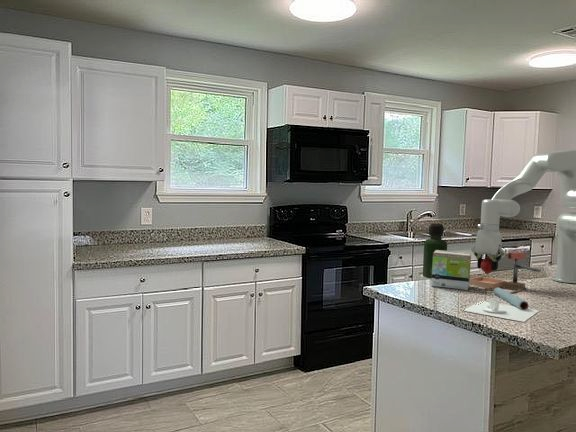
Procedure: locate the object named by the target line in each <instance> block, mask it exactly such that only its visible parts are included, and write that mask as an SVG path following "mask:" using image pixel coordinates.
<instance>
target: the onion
mask: <svg viewBox="0 0 576 432" xmlns="http://www.w3.org/2000/svg"><path fill="white" fill-rule="evenodd" d="M493 261H494V260H493V258H490V256H489V255H486V257H485V258H483V261H482V262H481V265H480V266H481V268H480V269H481V270H482V272H484V273H485V274H486V275H489V274H490V273H491V272H493V271H492V262H493Z"/></svg>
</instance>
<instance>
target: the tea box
mask: <svg viewBox="0 0 576 432" xmlns="http://www.w3.org/2000/svg"><path fill="white" fill-rule="evenodd" d="M471 260H472V252H464V251H456V250H455V251H454V250H453V251H452V250H447V251H443V250H435V252H434V253H433V264H432V279H431V278H430V279H431V283H430V285H431V287H439V288H447V289H454V290H455V289H456V290H462V291H468V290H469V288H470V287H469V286H470V284H469V279H470V278H471V277H470V276H471Z"/></svg>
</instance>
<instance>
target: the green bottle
mask: <svg viewBox="0 0 576 432" xmlns="http://www.w3.org/2000/svg"><path fill="white" fill-rule="evenodd" d="M444 233H445V227H444V224H443V223H436V222H435V223H434V222H431V223H430V224H429V226H428V236H429V237H430V238H427V239H426V240H424V243H423V260H422V261H423V262H422V276H423V277H424V278H427V279H432V264H433V253H434V252H435V250H443V251H448V243H447V241H446V240H445V239H442V237H444Z"/></svg>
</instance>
